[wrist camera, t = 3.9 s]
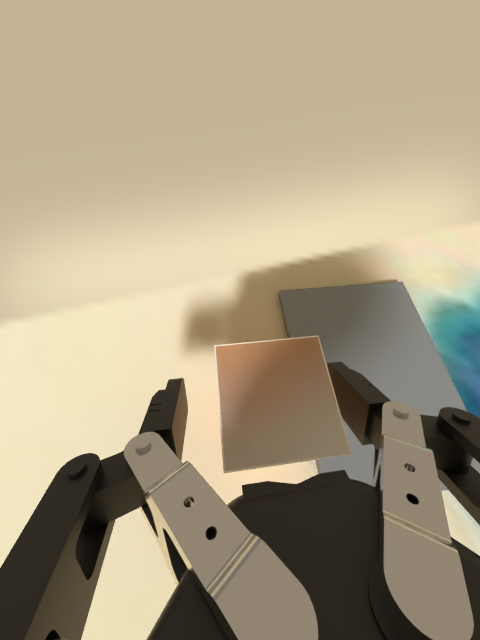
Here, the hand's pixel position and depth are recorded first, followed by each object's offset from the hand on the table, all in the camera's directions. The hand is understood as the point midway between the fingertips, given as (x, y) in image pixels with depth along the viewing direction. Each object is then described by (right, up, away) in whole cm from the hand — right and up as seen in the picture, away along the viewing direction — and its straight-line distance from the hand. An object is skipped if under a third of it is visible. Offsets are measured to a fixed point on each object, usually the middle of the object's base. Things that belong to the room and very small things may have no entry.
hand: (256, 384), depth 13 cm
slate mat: (+10, -1, +6) cm, 11 cm away
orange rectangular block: (0, -3, +4) cm, 5 cm away
